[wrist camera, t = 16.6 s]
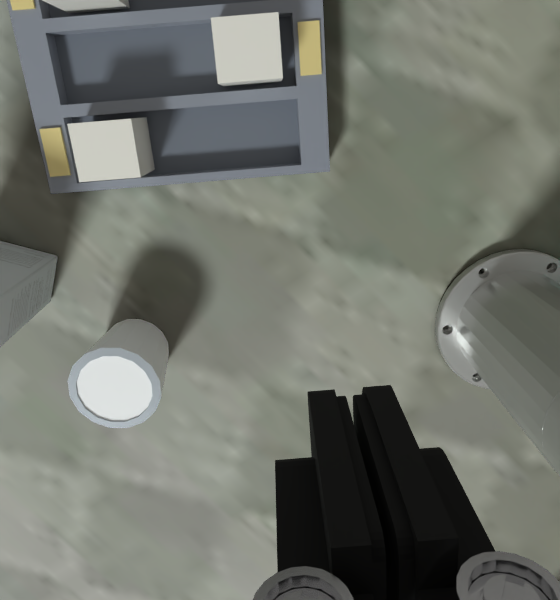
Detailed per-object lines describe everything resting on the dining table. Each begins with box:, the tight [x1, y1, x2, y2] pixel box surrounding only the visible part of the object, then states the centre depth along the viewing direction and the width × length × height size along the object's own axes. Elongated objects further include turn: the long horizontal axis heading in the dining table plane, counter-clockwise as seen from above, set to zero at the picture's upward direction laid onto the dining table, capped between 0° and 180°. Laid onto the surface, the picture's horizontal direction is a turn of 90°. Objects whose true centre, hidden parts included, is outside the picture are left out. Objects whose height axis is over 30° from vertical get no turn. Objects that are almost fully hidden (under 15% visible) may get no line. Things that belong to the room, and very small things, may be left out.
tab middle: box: [211, 12, 283, 86], centre depth 33 cm, size 4×4×4 cm
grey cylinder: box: [68, 319, 169, 428], centre depth 42 cm, size 7×7×7 cm
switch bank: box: [7, 0, 330, 194], centre depth 36 cm, size 20×16×3 cm
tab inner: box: [67, 117, 155, 182], centre depth 35 cm, size 4×4×4 cm
